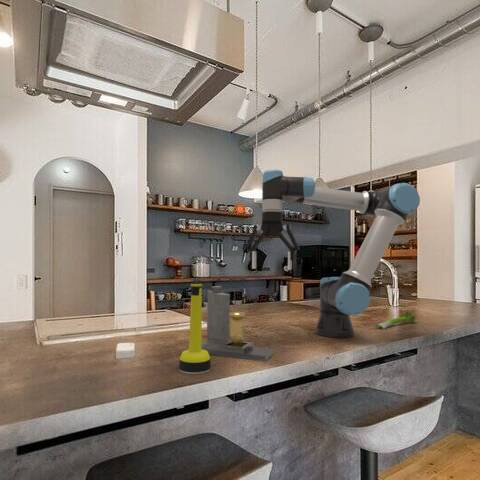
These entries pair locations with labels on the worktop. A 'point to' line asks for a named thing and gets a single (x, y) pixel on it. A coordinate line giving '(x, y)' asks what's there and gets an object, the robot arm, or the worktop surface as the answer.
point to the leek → (398, 320)
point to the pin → (237, 328)
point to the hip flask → (218, 314)
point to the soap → (125, 350)
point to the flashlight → (195, 337)
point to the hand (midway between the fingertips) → (271, 269)
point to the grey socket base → (236, 349)
